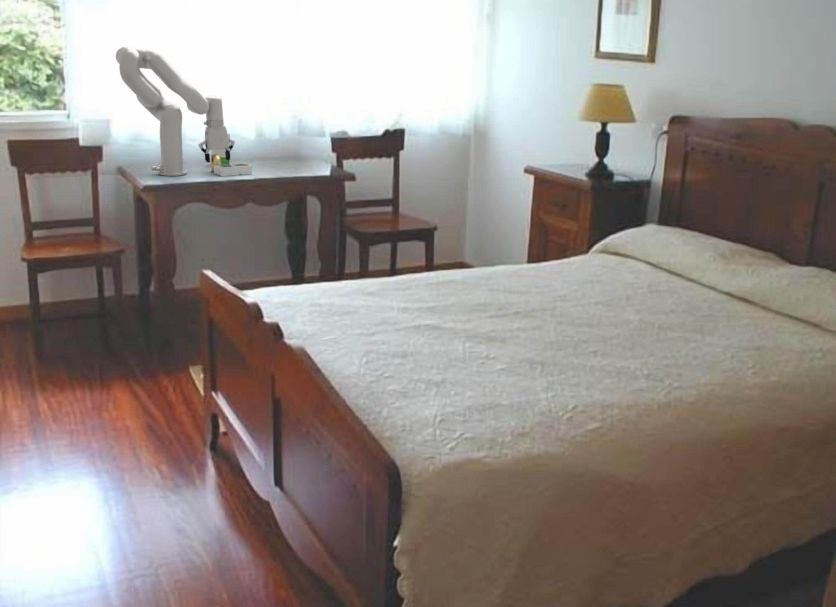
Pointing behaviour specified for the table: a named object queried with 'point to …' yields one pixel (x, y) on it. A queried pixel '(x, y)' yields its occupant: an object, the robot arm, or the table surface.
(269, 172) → the table surface
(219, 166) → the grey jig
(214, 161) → the brass bushing
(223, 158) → the skincare box
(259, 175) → the table surface
